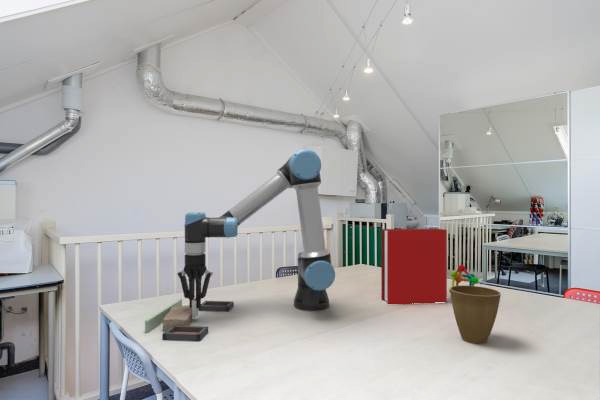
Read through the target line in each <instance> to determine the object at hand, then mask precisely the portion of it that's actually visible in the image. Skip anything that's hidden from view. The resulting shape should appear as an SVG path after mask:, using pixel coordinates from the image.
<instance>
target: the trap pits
mask: <svg viewBox="0 0 600 400" xmlns="http://www.w3.org/2000/svg"><path fill="white" fill-rule="evenodd" d="M234 304H235V303H234V301H230V300H229V301H228V300H226V301H225V300H222V301H221V300H204V301H203V302H201V307H200V308H198V312H224V313H228V312H230V311H231V310H232V309H233V307H234V306H235V305H234ZM207 334H209V326H202V325H201V326H200V325H197V326H196V325H189V326H176V325H173V326H172V327H170V328H169V329H168V330H166V331H163V332H162V334H161V335H162V338H161V339H162V340H163V341H181V342H182V341H183V342H184V341H185V342H186V341H187V342H188V341H189V342H201V341H202V339H203V338H204V337H206V335H207Z"/></svg>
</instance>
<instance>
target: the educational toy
mask: <svg viewBox="0 0 600 400" xmlns="http://www.w3.org/2000/svg"><path fill="white" fill-rule="evenodd" d="M463 272H464V273H465V274H464V273H463ZM462 273H463V274H462ZM450 276H451V277H452V279H451V287H453V286H459V284H460V283H462V282H463V281H464V282H469V284H468V286H475V285H476V284H478V283H479V281H480V280H479V278H478V277H476V275H475V274H473V273H469V272H468V271H467V269H466V267H465V265H464V264H460V265H458V267H457V270H452V271H451V272H450ZM455 282H456V283H455ZM451 287H449V289H448V291H449V293H450V288H451Z"/></svg>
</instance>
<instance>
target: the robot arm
mask: <svg viewBox="0 0 600 400" xmlns="http://www.w3.org/2000/svg"><path fill="white" fill-rule="evenodd" d="M321 170H322V161H321V159H320V156H319V155H318V154H317V153H316V152H315V151H314V150H311V149H306V148H304V149H300V150H296V151H295V152H293V154H292V155H291V156H290V157H289V158H288V159H287V161H286V162H285V163H284V164H283V165H282V166H281V167H280V168H278V169H277V170H276V174H274V175H273V176H271V177H270V178H269V179H268V180H267V181H265V182H264V183H262V184H261V185H260V186H259V187H257V188H256V189H255V190H254V191H252V192H251V193H249V194H248V195H246V197H244V198H243V199H241V200H240V201H239V202H238V203H237V204H235V205H234V206H232V207H231V208H230V209H228V210H227V211H226V212H225V213H223V214H221V215H220V216H219V217H209V216H208V217H207V215H206V213H205V212H204V211H203V212H202V211H201V212H196V211H195V212H191V211H190V212H187V213H186V214H185V216H184V224H183V225H184V254H185V255H184V267H183V269H182V270H181V271H178V272H177V276H178V278H179V279H180V283H181V284H180V285H181V287H182V291H183V297H184V299H188V300H189V305H190V308H192V319H195V318H197V317H199V311H198V308H200V307H201V304H202V301H201V300H202V299H204V298H205V297H207V293H208V289H209V288H208V287H209V284H210V280H211V277H212V276H213V272H212V271H209V270H208V268H207V265H206V262H207V261H206V259H207V258H206V239H207V238H226V239H229V238H235V237H237V236H238V230H239V228H238V227H239V226H240V225H241V224H243V223H244V222H245V221H246V220H249V218H251V217H252V216H253V215H255V214H256V213H257V212H259V211H260V210H261V209H262V208H264V207H265V206H266V205H267V204H269V203H270V202H272V201H273V200H274V199H275V198H277V197H278V196H279V195H281V194H282V193H283V192H285V191H286V190H287V189H294V190H295V193H296V201H297V207H298V208H297V209H298V216H299V224H300V232H301V238H302V246H303V247H302V248H303V251H300V252H299V253H297V290H296V293H295V296H294V298H293V306H294V307H295V309H297V310H298V309H299V310H303V311H321V310H326V309H328V308H330V299H329V295H328V292H327V289H329V288H330V287H331V286H332V285H333V284H334V282H335V279H336V271H335V267H334V266H333V263H332V256H331V252H330V250H328V249H327V248H326V242H325V234H324V226H323V225H324V224H323V219H322V218H323V217H322V211H321V210H322V209H321V202H320V195H319V186H321V184H322V179H321ZM203 276H205V277H204V281H203V284H202V279H203V278H202V277H203ZM187 277H188V281H187ZM202 285H203V286H202Z"/></svg>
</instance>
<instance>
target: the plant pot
mask: <svg viewBox="0 0 600 400" xmlns="http://www.w3.org/2000/svg"><path fill="white" fill-rule="evenodd" d="M449 288H450V287H449ZM449 293H450V299H451V304H452V306H451V307H452V310H453V315H454V319H455V321H456V322H455V323H456V325H457V329H458V332H459V334H460V336H461V339H462V340H463V341H465V342H468V343H471V344H479V343H480V344H485V343H487V342H488V340H489V338H490V335H491V333H492V330H493V328H494V325H495V321H496V318H497V315H498V310H499V307H500V301H501V296H502V295H501V292H500V291H499V290H496V289H493V288H490V287H484V286H477V285H474V286H469V285H466V284H465V285H458V286H456V285H454V286H453V287H452V286H451V288H450V292H449Z"/></svg>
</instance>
